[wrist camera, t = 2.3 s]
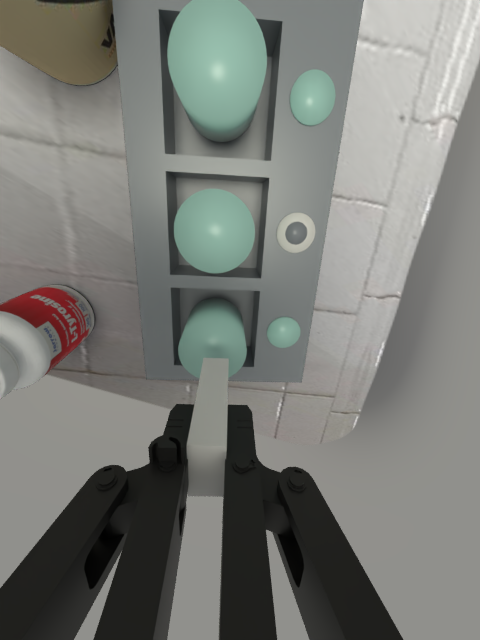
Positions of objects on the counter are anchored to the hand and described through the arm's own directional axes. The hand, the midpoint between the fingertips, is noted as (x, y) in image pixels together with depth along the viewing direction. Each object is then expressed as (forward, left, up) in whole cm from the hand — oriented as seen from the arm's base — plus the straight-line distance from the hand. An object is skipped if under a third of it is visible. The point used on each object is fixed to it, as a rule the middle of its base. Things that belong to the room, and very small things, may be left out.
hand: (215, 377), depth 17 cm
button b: (0, +8, -8) cm, 11 cm away
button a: (0, 0, -8) cm, 8 cm away
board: (+1, +8, -12) cm, 14 cm away
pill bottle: (-15, -1, -12) cm, 19 cm away
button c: (0, +16, -8) cm, 18 cm away
